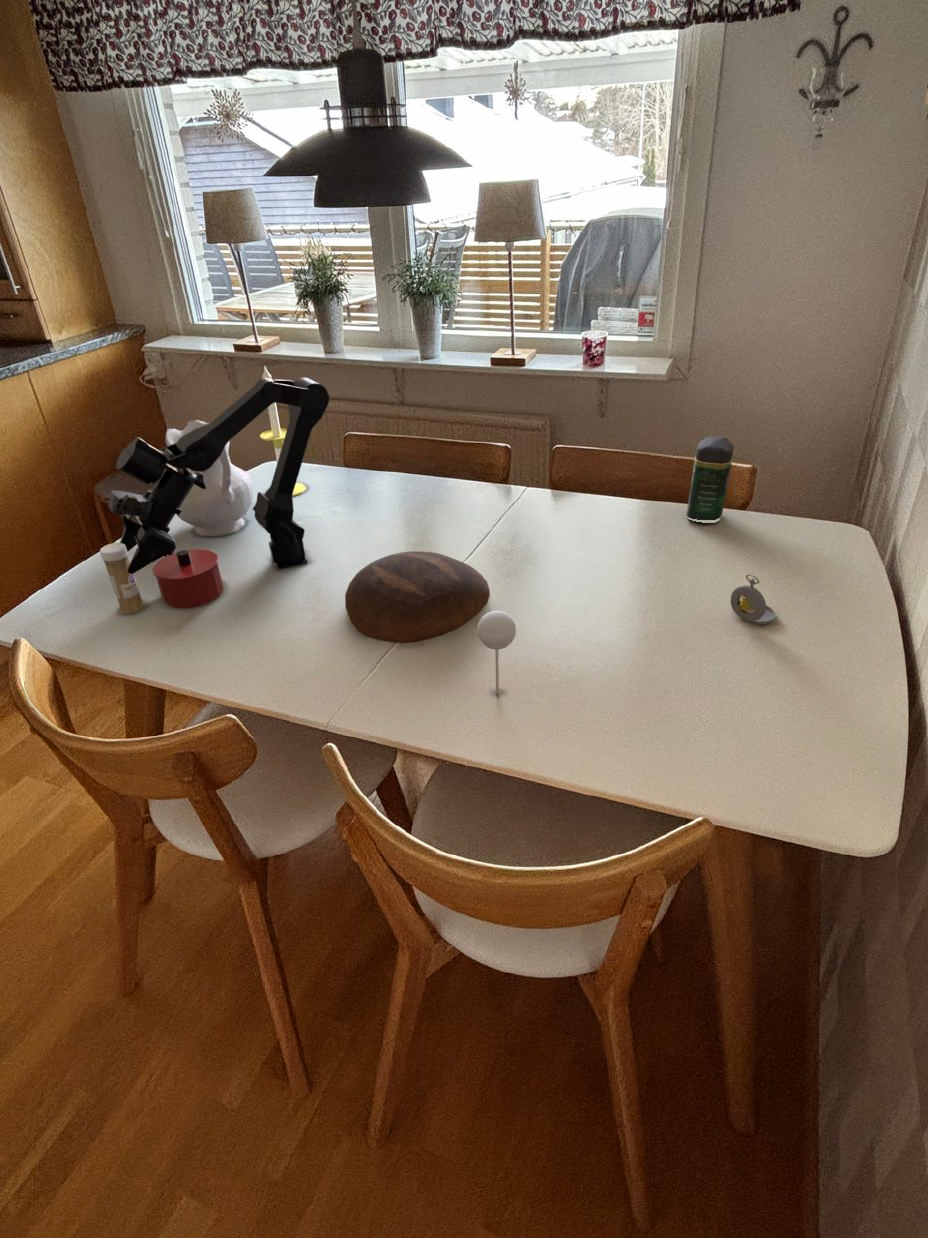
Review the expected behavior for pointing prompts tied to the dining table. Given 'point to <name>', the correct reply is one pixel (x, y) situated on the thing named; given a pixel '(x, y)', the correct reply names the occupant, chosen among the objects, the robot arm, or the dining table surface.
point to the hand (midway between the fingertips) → (124, 563)
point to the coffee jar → (710, 479)
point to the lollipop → (496, 634)
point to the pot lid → (185, 564)
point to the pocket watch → (751, 604)
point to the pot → (192, 590)
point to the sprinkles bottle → (122, 577)
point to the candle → (277, 435)
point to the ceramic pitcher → (215, 493)
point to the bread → (414, 597)
